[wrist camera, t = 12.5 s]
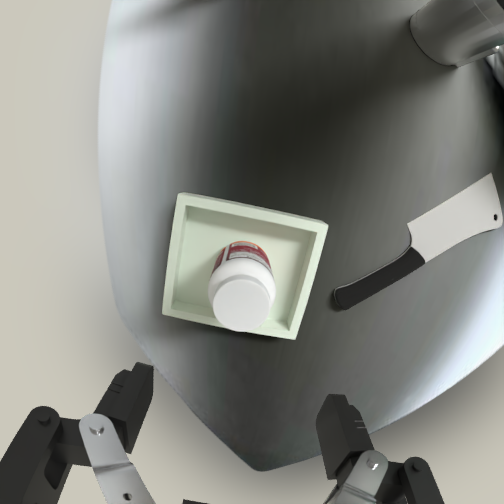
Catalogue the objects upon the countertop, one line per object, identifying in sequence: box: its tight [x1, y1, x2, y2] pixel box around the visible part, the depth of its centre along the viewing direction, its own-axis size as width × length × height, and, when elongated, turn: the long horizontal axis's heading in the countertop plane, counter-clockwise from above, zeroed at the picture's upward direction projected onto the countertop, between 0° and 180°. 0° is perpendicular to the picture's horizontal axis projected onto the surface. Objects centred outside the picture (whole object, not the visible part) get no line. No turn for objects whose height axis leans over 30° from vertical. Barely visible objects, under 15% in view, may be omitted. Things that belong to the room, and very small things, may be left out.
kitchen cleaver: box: [334, 173, 503, 310], centre depth 33 cm, size 31×2×10 cm
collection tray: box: [162, 192, 328, 340], centre depth 33 cm, size 16×14×3 cm
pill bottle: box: [208, 241, 276, 332], centre depth 28 cm, size 6×6×11 cm
